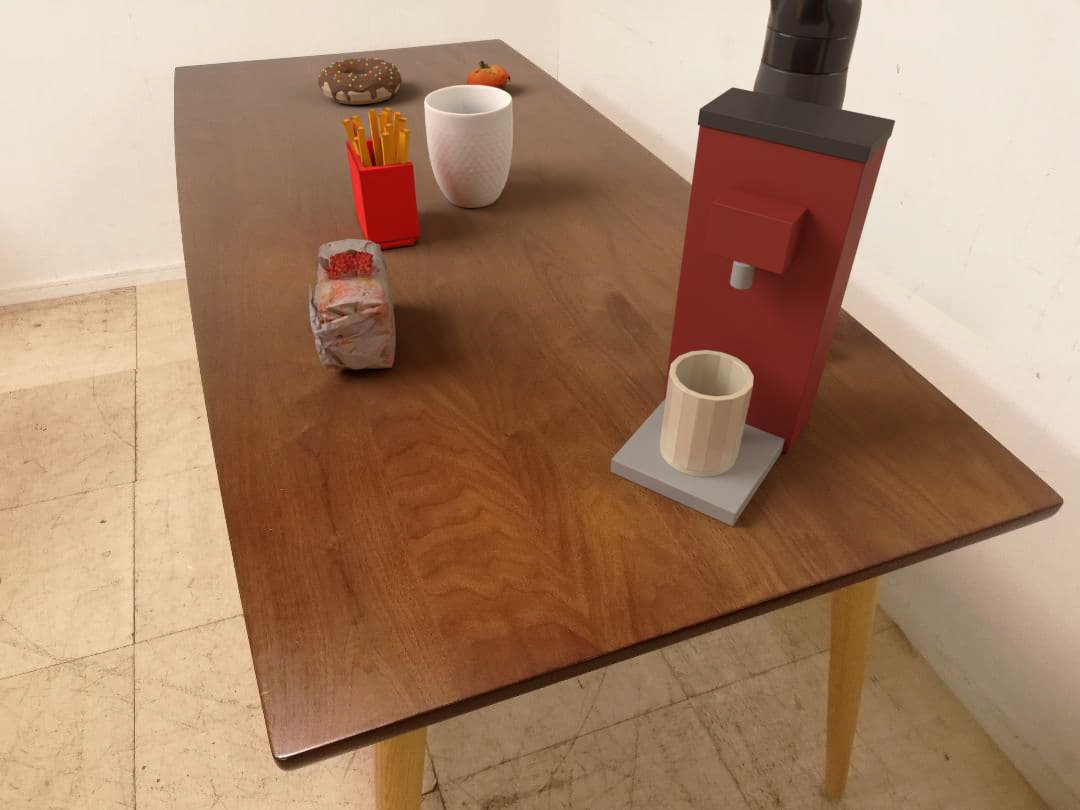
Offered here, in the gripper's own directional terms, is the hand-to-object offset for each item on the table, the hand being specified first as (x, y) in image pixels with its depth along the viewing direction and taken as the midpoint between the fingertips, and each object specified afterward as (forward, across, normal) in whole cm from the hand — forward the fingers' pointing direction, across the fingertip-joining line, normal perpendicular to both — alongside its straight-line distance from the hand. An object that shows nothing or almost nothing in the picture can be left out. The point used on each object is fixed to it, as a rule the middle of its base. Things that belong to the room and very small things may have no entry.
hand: (758, 290), depth 81 cm
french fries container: (+6, +46, +4) cm, 46 cm away
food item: (+6, +32, +24) cm, 40 cm away
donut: (+5, +83, -31) cm, 89 cm away
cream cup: (+4, -4, +21) cm, 21 cm away
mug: (+5, +44, -11) cm, 45 cm away
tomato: (+5, +67, -45) cm, 81 cm away
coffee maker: (+5, -4, +18) cm, 19 cm away
